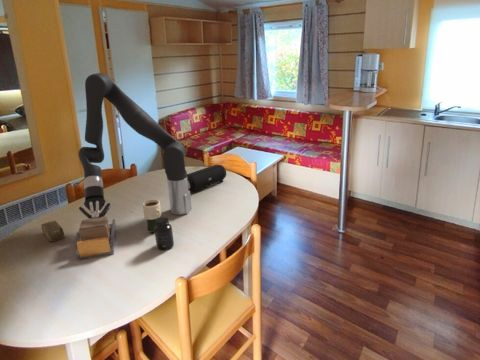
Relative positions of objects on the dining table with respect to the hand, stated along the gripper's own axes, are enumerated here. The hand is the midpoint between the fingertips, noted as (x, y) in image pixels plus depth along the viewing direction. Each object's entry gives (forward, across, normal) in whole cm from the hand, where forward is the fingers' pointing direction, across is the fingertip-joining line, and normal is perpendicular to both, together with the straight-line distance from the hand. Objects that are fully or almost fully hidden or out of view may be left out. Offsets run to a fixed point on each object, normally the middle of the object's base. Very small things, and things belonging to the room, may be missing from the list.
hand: (96, 226), depth 142 cm
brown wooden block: (+5, 0, -2) cm, 5 cm away
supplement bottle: (+15, +26, -7) cm, 31 cm away
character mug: (+4, +23, +4) cm, 24 cm away
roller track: (+6, 0, +2) cm, 6 cm away
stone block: (-2, -19, +10) cm, 21 cm away
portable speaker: (-24, +53, +32) cm, 67 cm away
